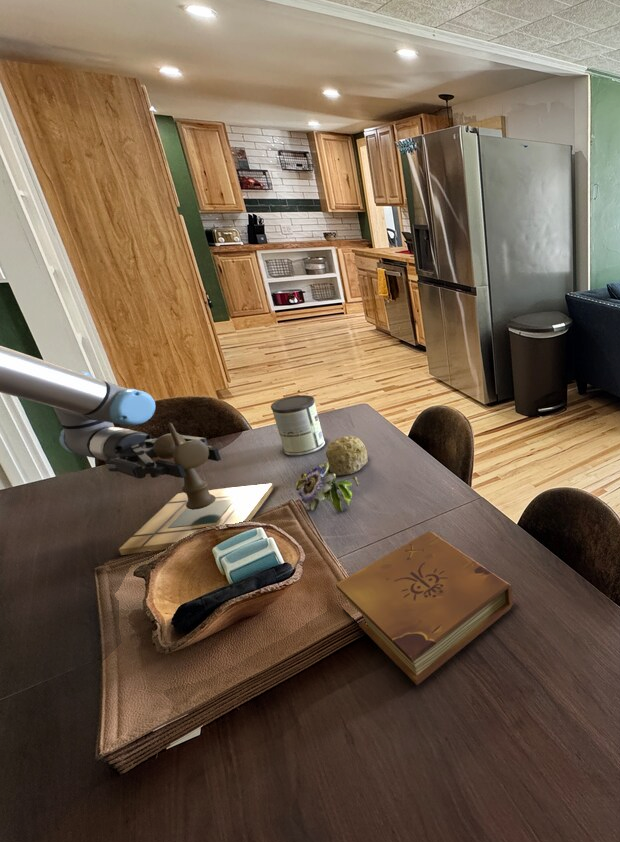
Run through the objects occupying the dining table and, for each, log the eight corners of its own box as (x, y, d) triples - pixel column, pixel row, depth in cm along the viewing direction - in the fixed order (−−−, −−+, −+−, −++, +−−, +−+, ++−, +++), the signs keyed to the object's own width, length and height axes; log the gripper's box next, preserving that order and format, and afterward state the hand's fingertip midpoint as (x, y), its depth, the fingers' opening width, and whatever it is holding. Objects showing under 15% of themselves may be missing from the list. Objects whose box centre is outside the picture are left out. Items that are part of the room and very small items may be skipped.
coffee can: (281, 445, 136) (268, 400, 131) (321, 435, 142) (310, 392, 137) (286, 459, 129) (273, 412, 123) (328, 448, 135) (317, 402, 130)
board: (121, 555, 94) (118, 548, 93) (179, 498, 112) (177, 492, 111) (235, 541, 98) (232, 534, 97) (274, 488, 116) (272, 483, 115)
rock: (327, 480, 126) (307, 461, 118) (348, 444, 133) (331, 425, 125) (359, 486, 125) (342, 468, 117) (380, 450, 131) (364, 430, 123)
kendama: (198, 518, 99) (164, 433, 92) (174, 506, 103) (139, 423, 95) (229, 503, 104) (199, 421, 96) (205, 492, 108) (174, 412, 100)
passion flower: (316, 528, 110) (281, 488, 108) (356, 498, 118) (324, 460, 116) (329, 520, 103) (292, 478, 101) (371, 489, 110) (337, 449, 108)
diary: (513, 607, 82) (511, 581, 80) (417, 686, 69) (411, 658, 66) (436, 551, 95) (432, 528, 93) (342, 608, 82) (335, 582, 79)
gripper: (178, 442, 114) (249, 456, 107) (76, 484, 97) (154, 504, 91) (167, 413, 111) (240, 427, 105) (59, 452, 94) (139, 470, 88)
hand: (200, 462), depth 98 cm, fingers closed on kendama, 6 cm apart
